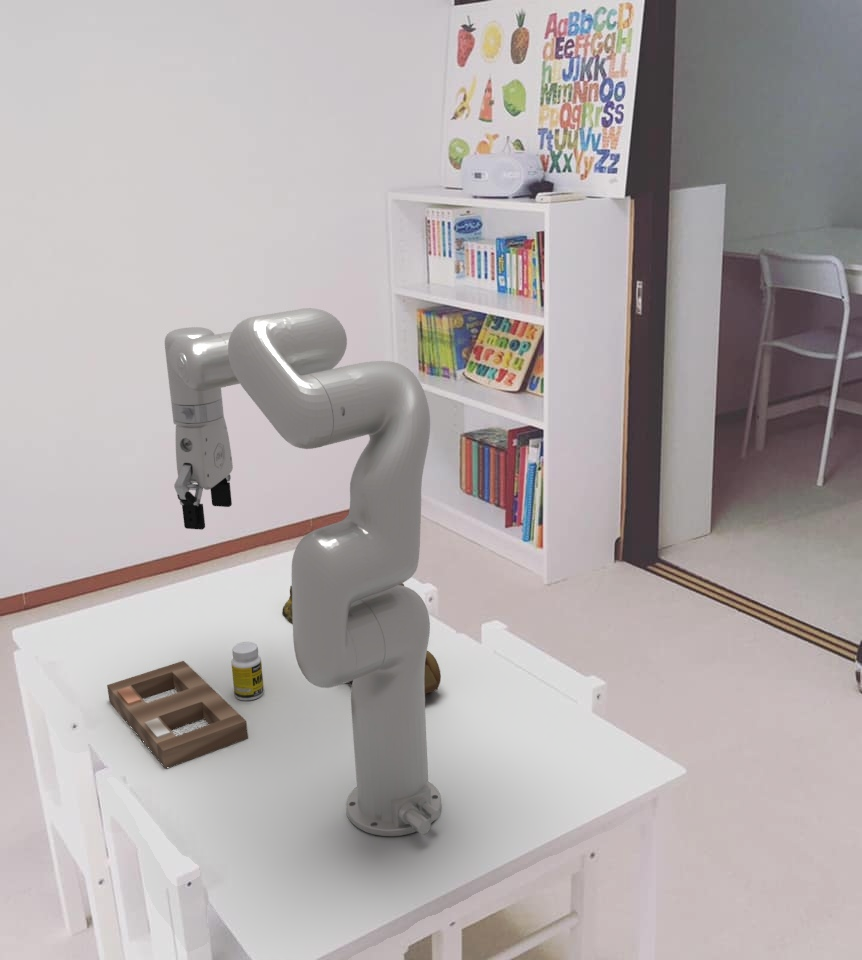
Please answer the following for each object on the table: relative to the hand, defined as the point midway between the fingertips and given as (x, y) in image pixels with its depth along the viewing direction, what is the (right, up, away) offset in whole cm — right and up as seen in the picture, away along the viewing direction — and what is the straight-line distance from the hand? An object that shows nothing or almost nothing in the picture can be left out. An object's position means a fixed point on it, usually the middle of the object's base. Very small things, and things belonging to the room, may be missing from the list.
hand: (208, 516), depth 168 cm
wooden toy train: (+27, -28, +8) cm, 40 cm away
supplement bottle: (+5, -29, +6) cm, 30 cm away
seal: (+12, -20, +34) cm, 41 cm away
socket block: (-5, -31, 0) cm, 32 cm away
